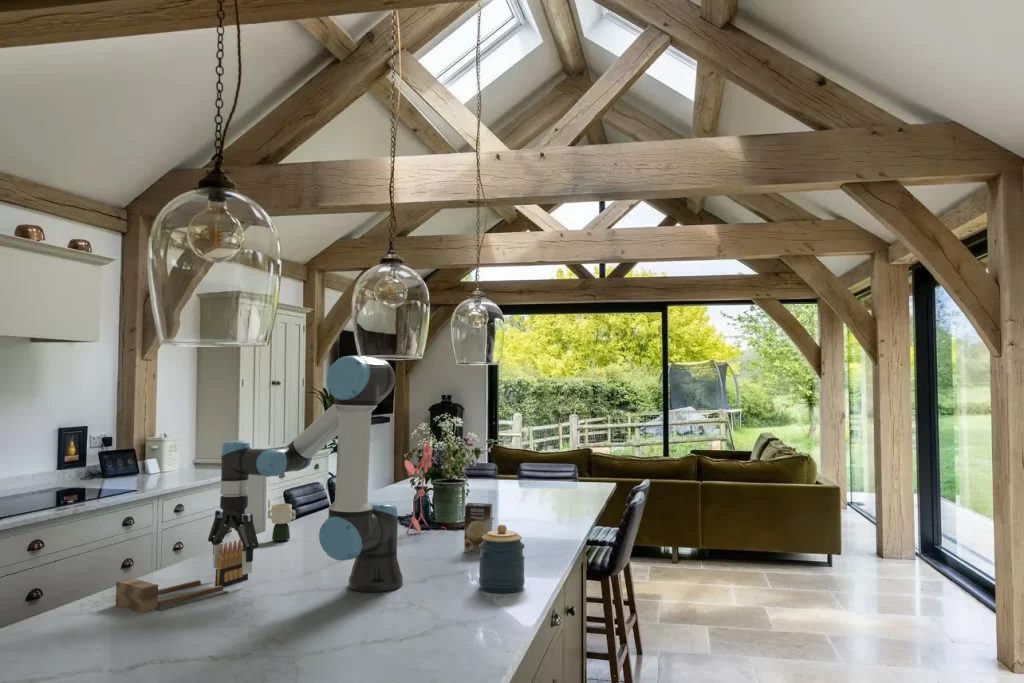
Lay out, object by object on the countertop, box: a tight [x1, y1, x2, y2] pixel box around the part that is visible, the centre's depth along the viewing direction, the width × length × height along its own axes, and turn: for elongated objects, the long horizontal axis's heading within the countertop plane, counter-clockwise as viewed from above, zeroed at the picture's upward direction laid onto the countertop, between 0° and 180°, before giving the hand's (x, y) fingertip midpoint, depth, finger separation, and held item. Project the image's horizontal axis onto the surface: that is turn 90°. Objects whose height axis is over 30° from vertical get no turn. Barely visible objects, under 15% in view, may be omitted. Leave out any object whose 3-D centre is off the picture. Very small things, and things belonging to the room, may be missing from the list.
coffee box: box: [463, 502, 493, 554], centre depth 259 cm, size 9×6×16 cm
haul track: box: [115, 577, 229, 614], centre depth 200 cm, size 16×24×6 cm
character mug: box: [267, 503, 297, 542], centre depth 275 cm, size 11×7×13 cm, turn 80°
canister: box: [478, 523, 526, 594], centre depth 212 cm, size 13×13×18 cm
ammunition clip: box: [214, 539, 249, 588], centre depth 216 cm, size 11×2×12 cm, turn 154°
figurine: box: [404, 441, 447, 535], centre depth 296 cm, size 15×26×35 cm, turn 168°
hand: (232, 570), depth 216 cm, fingers open, 12 cm apart
